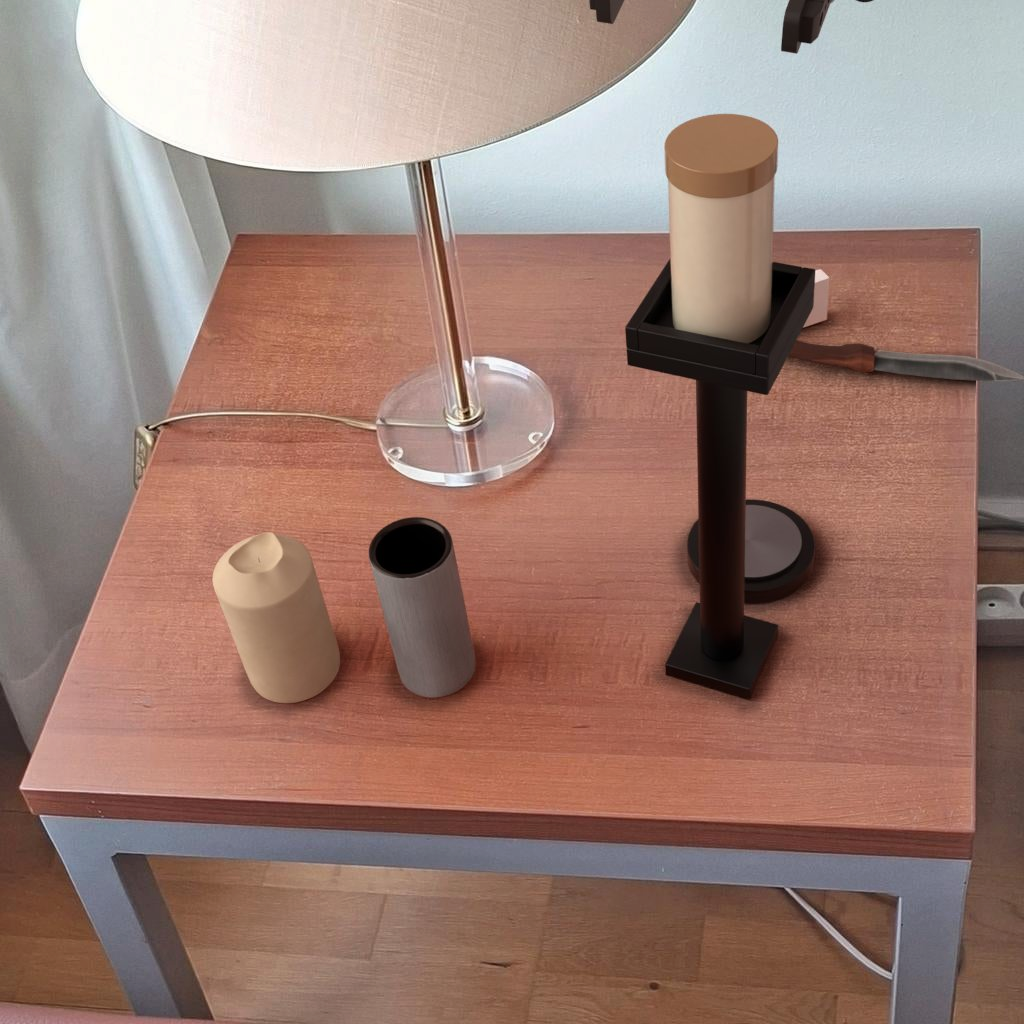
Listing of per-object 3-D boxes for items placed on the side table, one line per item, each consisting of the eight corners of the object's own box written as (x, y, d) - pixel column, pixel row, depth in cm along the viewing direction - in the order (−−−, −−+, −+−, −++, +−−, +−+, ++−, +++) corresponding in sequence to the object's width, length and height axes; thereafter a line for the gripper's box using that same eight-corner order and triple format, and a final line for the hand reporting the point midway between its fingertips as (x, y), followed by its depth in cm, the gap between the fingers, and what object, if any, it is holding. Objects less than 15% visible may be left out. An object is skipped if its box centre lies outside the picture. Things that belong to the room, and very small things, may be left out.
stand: (796, 629, 82) (815, 268, 64) (759, 715, 78) (768, 356, 60) (688, 599, 84) (678, 244, 66) (646, 681, 80) (624, 327, 62)
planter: (488, 649, 83) (466, 526, 76) (455, 707, 80) (428, 586, 73) (420, 629, 85) (392, 507, 77) (385, 686, 82) (352, 565, 75)
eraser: (827, 319, 101) (829, 277, 98) (766, 341, 100) (767, 298, 97) (818, 310, 102) (820, 268, 99) (758, 331, 101) (758, 289, 98)
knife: (1027, 397, 94) (1026, 371, 96) (1031, 379, 93) (1031, 353, 95) (748, 365, 98) (754, 341, 100) (750, 347, 97) (755, 323, 99)
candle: (285, 619, 86) (246, 503, 79) (359, 649, 84) (326, 532, 77) (230, 685, 83) (184, 570, 76) (305, 717, 81) (265, 602, 74)
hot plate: (830, 529, 87) (831, 512, 86) (791, 618, 82) (792, 601, 81) (712, 500, 90) (712, 483, 89) (668, 584, 85) (668, 567, 84)
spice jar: (786, 298, 64) (793, 121, 58) (753, 359, 62) (756, 180, 55) (691, 280, 66) (687, 106, 60) (655, 339, 63) (647, 163, 57)
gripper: (646, -278, 69) (536, -74, 61) (942, -249, 65) (866, -28, 58) (648, -137, 75) (549, 64, 68) (919, -103, 72) (846, 114, 64)
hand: (695, 22), depth 63 cm, fingers open, 8 cm apart
